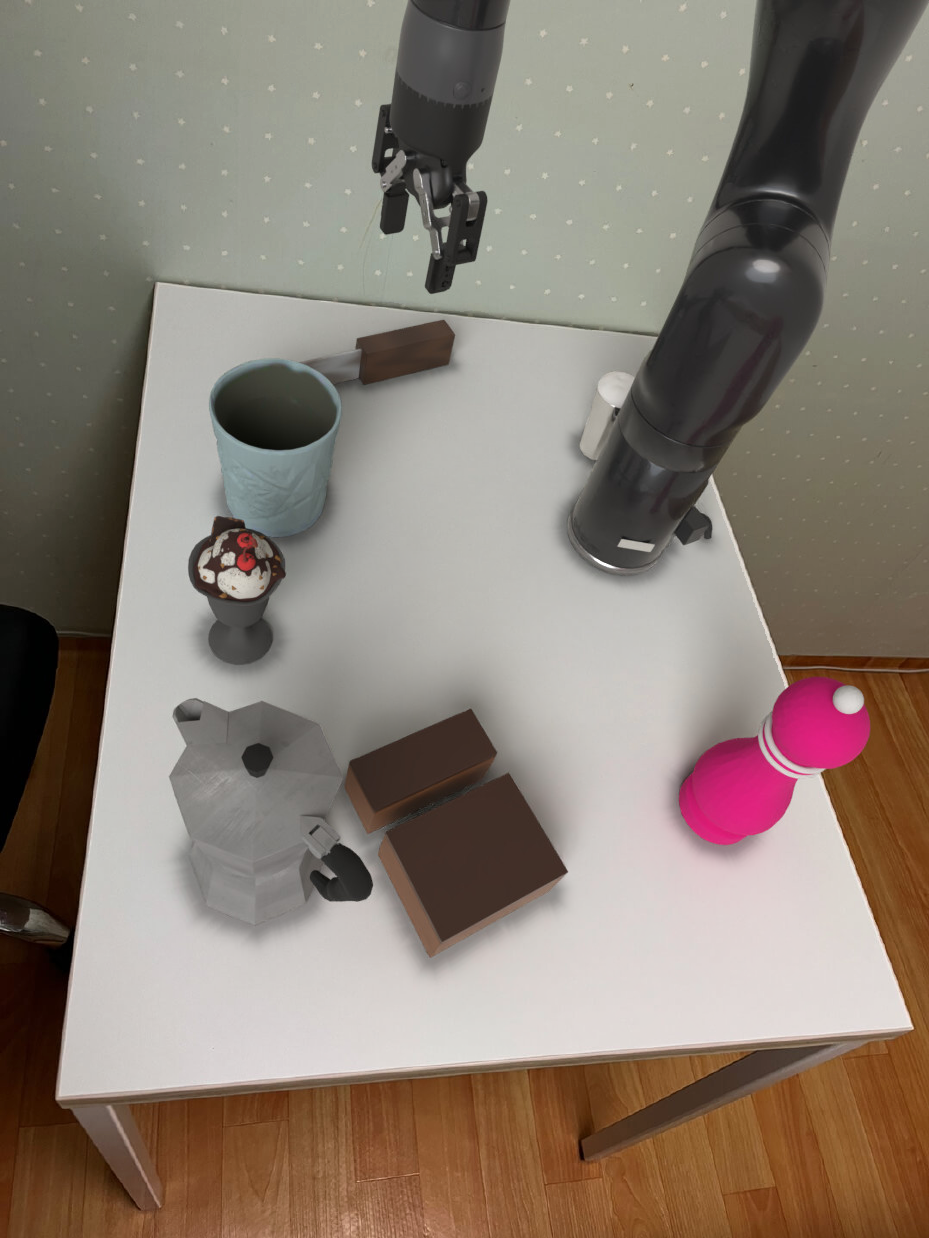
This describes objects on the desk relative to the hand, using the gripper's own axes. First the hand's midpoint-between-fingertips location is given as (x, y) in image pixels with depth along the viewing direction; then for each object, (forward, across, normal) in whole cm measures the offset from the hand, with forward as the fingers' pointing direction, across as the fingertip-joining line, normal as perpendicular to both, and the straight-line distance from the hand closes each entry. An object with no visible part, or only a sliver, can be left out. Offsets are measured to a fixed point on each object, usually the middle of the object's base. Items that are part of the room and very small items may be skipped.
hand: (413, 260), depth 78 cm
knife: (+13, 0, +4) cm, 14 cm away
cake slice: (+13, -40, +20) cm, 47 cm away
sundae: (+13, -23, +26) cm, 38 cm away
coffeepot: (+13, -41, +32) cm, 54 cm away
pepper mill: (+13, -53, -1) cm, 54 cm away
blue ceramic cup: (+13, -11, +18) cm, 25 cm away
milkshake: (+13, -17, -15) cm, 26 cm away
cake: (+13, -48, +20) cm, 53 cm away
